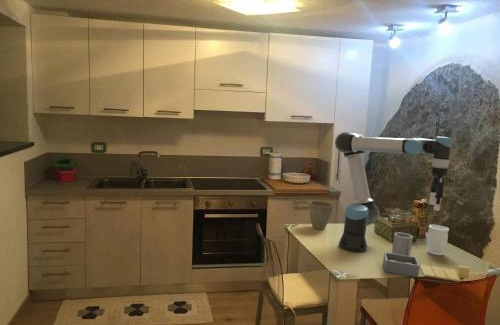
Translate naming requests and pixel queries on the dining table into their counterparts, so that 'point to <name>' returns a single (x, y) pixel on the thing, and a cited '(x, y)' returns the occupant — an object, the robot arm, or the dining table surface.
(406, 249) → the cup
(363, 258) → the dining table surface
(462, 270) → the lid
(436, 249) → the jar
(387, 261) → the tub
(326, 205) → the plant pot
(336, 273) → the dining table surface
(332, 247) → the dining table surface
